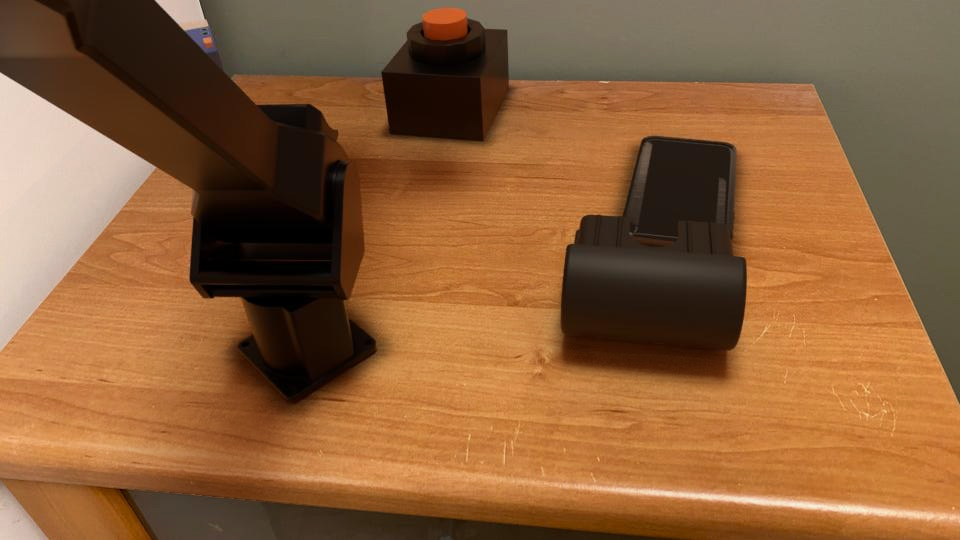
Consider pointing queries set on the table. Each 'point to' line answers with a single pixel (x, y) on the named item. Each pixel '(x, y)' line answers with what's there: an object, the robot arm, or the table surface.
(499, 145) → the table surface
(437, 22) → the orange push button
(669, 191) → the phone
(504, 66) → the push button base
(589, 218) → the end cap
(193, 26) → the walkman
